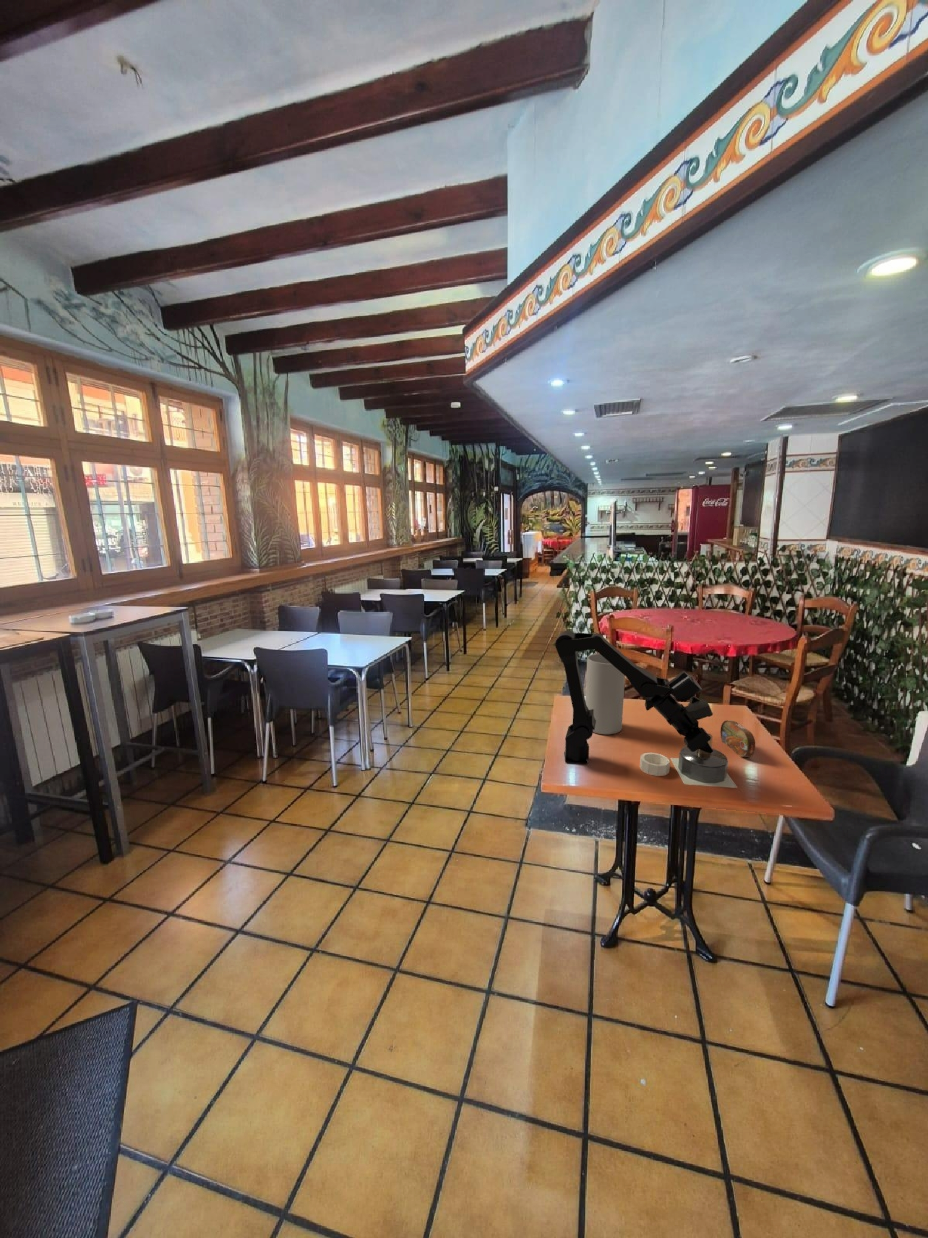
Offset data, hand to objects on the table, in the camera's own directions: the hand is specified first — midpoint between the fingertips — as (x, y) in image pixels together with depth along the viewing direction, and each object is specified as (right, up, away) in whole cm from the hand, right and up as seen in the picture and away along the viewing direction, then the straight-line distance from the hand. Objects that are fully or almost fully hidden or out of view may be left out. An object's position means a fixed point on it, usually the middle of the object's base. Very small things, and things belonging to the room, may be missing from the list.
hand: (709, 749), depth 138 cm
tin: (+16, -5, +15) cm, 22 cm away
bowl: (-14, -7, +4) cm, 16 cm away
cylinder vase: (-21, -1, +32) cm, 39 cm away
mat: (-1, -7, +2) cm, 8 cm away
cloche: (-1, -7, +2) cm, 7 cm away
